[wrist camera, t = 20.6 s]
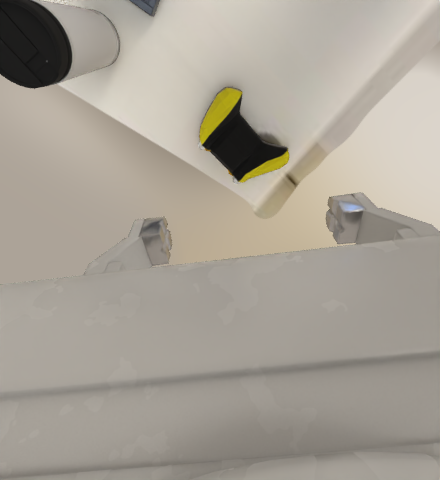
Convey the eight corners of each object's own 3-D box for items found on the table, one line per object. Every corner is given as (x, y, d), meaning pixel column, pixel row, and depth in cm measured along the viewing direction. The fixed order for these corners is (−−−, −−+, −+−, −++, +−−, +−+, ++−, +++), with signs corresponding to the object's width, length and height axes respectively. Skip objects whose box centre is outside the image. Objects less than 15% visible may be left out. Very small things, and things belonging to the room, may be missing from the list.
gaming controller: (230, 75, 40) (184, 125, 44) (233, 81, 36) (182, 135, 40) (288, 148, 47) (244, 185, 51) (297, 160, 43) (248, 200, 47)
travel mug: (93, -6, 34) (-5, -38, 19) (129, 48, 38) (74, 61, 22) (59, 27, 36) (-56, 24, 20) (97, 76, 40) (24, 106, 24)
